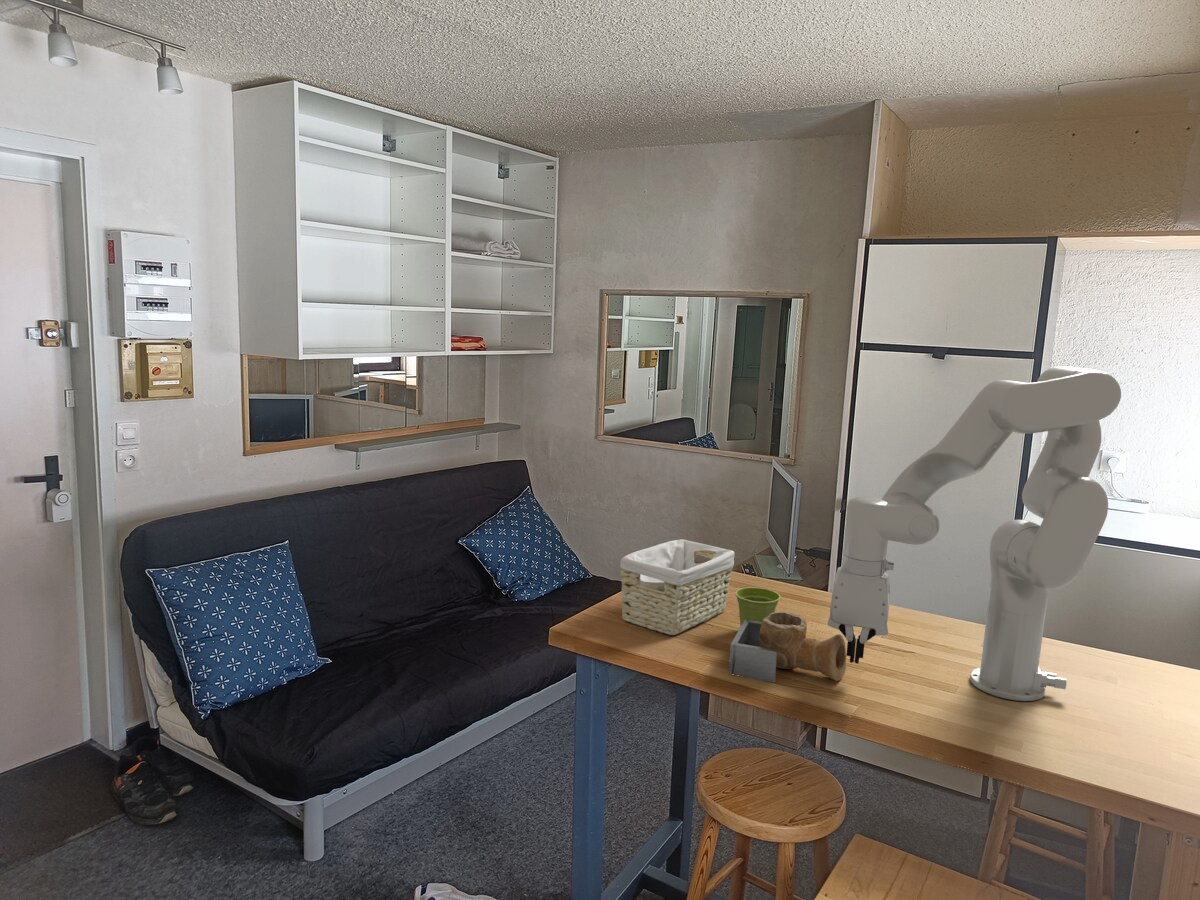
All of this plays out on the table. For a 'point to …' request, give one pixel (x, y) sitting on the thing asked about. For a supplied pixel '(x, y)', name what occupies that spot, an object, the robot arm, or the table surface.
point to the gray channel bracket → (752, 654)
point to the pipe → (802, 646)
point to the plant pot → (756, 603)
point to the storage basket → (675, 585)
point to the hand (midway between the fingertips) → (854, 660)
